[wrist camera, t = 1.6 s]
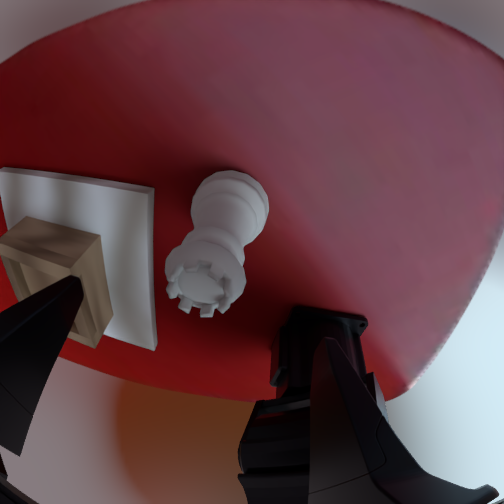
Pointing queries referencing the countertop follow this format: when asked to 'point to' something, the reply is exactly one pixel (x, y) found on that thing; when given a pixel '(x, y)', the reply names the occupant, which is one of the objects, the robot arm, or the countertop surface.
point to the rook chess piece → (217, 242)
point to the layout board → (102, 218)
